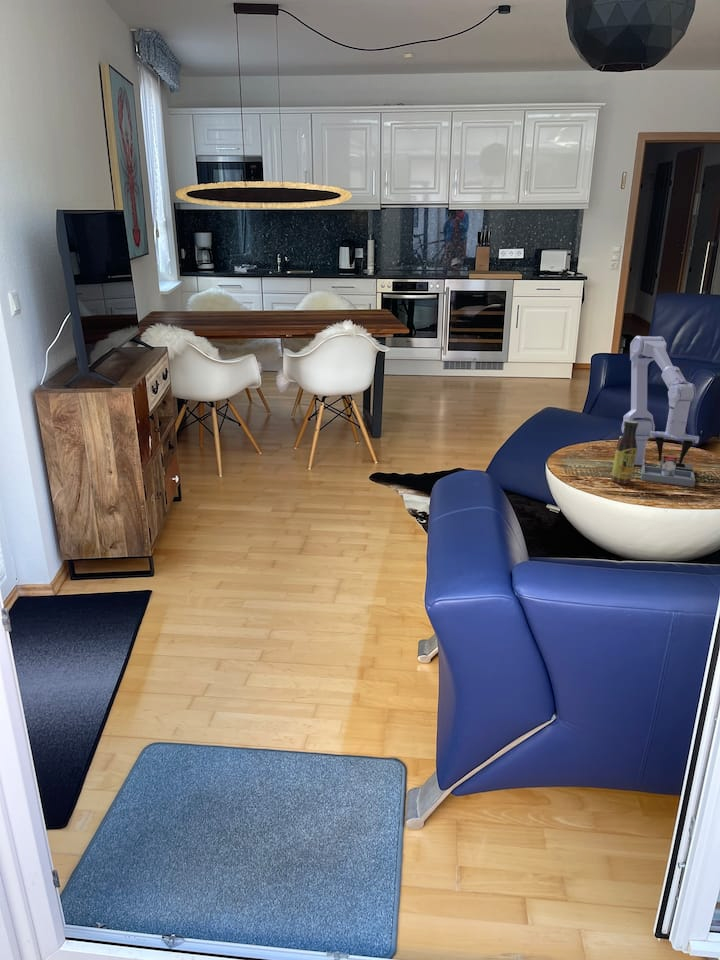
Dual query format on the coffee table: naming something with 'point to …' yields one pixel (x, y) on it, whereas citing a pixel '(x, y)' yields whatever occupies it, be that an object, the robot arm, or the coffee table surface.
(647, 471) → the tray
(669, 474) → the small white jar
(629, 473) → the sauce bottle
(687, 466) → the hitch block
